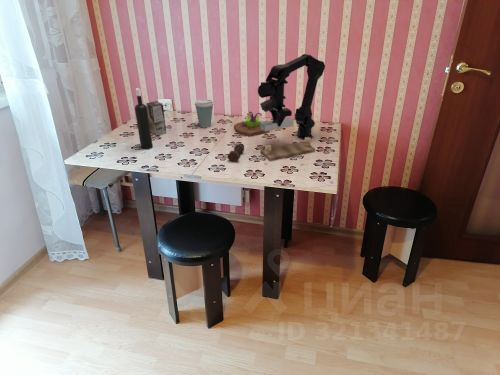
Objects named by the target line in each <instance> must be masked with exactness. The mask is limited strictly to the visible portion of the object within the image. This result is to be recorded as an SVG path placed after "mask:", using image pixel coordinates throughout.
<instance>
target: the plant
mask: <svg viewBox="0 0 500 375" xmlns="http://www.w3.org/2000/svg"><path fill="white" fill-rule="evenodd" d="M246 115H247V116H250V117H245V118H246V119H245V120H242V121H241V122H237V123H235V124H234V125H233V130H234V132H235V133H236V134H239V135H241V136H245V137H255V136H260V135H265V134H266V135H267V134H268V133H270V131H264V130H262V129H261V128H260V122H261V121H262V120H259V118H258V117H257V116H258V115H259V116H260V117H262V116H263V114H262V113H261V112H257V113H256V114H254V113H253V112H252V111H248V112H247V113H246Z"/></svg>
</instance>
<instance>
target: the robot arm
mask: <svg viewBox="0 0 500 375" xmlns="http://www.w3.org/2000/svg"><path fill="white" fill-rule="evenodd" d="M302 67H306V74H307V81H306V86H305V88H304V89H305V90H304V93H303V98H302V102H301V106H299V108H296V109H295V113H294V120H295V123H296V125H298V128H297V133H296V136H297V137H299V138H300V139H302V140H305V137H310V138H313V137H314V136H313V135H312V128H314V127H315V125H316V122H315V120H313V119H312V117H313V112H312V105H313V101H314V98H315V93H316V88H317V84H318V81H319V79H320V78H321V77H322V76H323V74H324V72H325V69H326V64H325V62H324V61H322V60H319V59H317V58H316V57H314V56H312V55H311V54H306V53H304V54H303V53H302V55H300V56H298V57H296V58H295V59H293V60H290V61H288V62H287V63H284V64H283V63H281V64H276V65H273V66H272V67H270V68H271V69H270V70H269V73H268V75H267V77H266V78H265V81H264V82H263V81H262V82H260V85H259V86H258V88H257V93H258V94H257V95H258V96H259V97H260V98H261V99H264V98H269V99H266V100H264V101H263V102H261V103H260V108H261V110H262V111H264V112H265V113H267V112H269V113H270V114H271V117H272V121H273V120H277V123H278V127H280V126H281V124H282V122H283V120H284V119H286V118H288V117H291V116H293V111H292V110H291V109H290V108H288V107H286V104H285V103H284V101H285V100H286V95H285V85H287V84H288V83H289V82H288V81H287V78H288V77H290V75H291V73H293V72H294V71H296V70H298V69H300V68H302Z"/></svg>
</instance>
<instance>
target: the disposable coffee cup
mask: <svg viewBox="0 0 500 375" xmlns="http://www.w3.org/2000/svg"><path fill="white" fill-rule="evenodd" d="M214 105H215V104H214V101H213V100H212V99H207V98H206V99H205V98H204V99H199V100H196V101H195V102H194V106H195V110H196V115H197V120H198V126H199V127H200V128H203V129H204V128H210V127H211V124H212V120H213V118H212V117H213V109H214V107H213V106H214Z"/></svg>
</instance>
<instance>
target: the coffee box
mask: <svg viewBox="0 0 500 375" xmlns="http://www.w3.org/2000/svg"><path fill="white" fill-rule="evenodd" d="M145 105H146V106H147V111H148V118H149V124H150V131H151V133H153V134H154V135H155V136H159V135H164V134H167V125H166V117H165V111H164V104H162V103H161V102H159V101H156V100H155V101H152V102H145Z"/></svg>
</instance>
